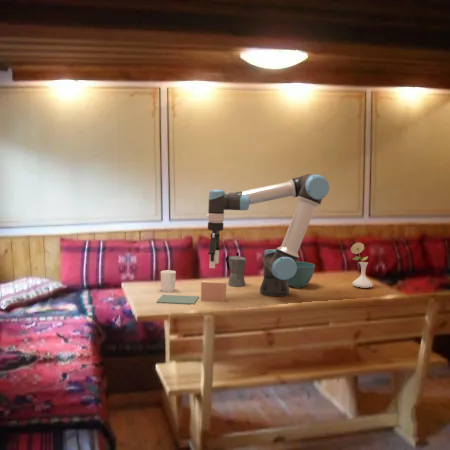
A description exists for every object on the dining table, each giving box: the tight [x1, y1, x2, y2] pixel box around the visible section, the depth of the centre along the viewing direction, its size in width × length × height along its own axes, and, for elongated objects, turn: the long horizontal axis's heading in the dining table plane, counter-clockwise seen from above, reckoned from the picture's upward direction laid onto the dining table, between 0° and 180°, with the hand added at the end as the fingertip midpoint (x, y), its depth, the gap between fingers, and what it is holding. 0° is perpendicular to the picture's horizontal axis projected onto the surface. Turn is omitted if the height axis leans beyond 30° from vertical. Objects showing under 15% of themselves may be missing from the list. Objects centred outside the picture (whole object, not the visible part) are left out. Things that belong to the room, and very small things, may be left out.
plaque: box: [200, 280, 227, 303], centre depth 291 cm, size 12×2×9 cm, turn 84°
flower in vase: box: [350, 242, 374, 289], centre depth 330 cm, size 13×11×25 cm
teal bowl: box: [287, 261, 316, 288], centre depth 329 cm, size 18×18×12 cm
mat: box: [156, 294, 199, 305], centre depth 290 cm, size 18×15×1 cm
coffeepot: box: [225, 252, 247, 288], centre depth 328 cm, size 15×9×18 cm, turn 44°
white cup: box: [160, 269, 177, 293], centre depth 310 cm, size 8×8×10 cm
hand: (214, 265), depth 290 cm, fingers open, 13 cm apart
